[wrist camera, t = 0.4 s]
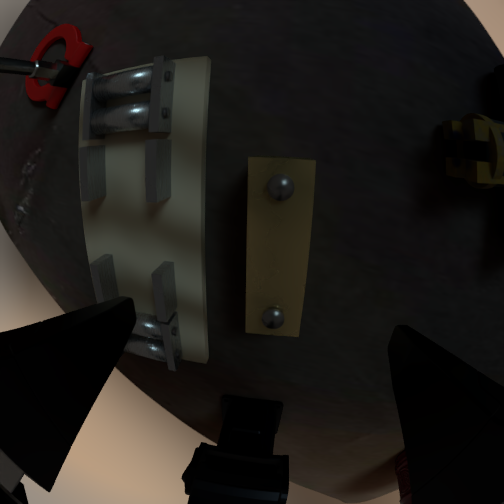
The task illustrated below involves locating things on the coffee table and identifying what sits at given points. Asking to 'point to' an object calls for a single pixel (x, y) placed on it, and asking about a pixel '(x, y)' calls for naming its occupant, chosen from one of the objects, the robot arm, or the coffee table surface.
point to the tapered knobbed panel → (277, 242)
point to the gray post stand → (51, 66)
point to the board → (157, 207)
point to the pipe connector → (478, 146)
